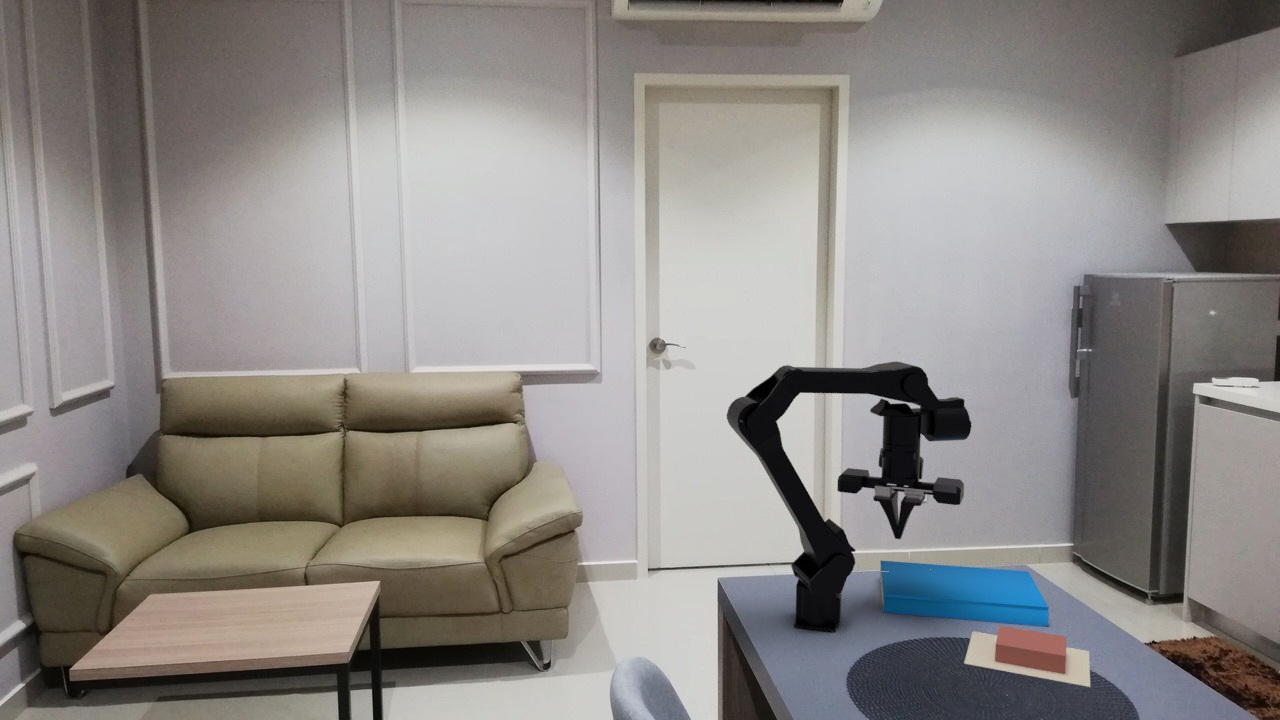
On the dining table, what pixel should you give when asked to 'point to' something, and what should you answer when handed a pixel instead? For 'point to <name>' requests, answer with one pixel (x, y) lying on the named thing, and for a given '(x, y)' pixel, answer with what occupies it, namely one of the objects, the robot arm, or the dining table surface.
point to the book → (962, 593)
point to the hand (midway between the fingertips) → (898, 538)
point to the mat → (984, 656)
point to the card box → (1031, 649)
